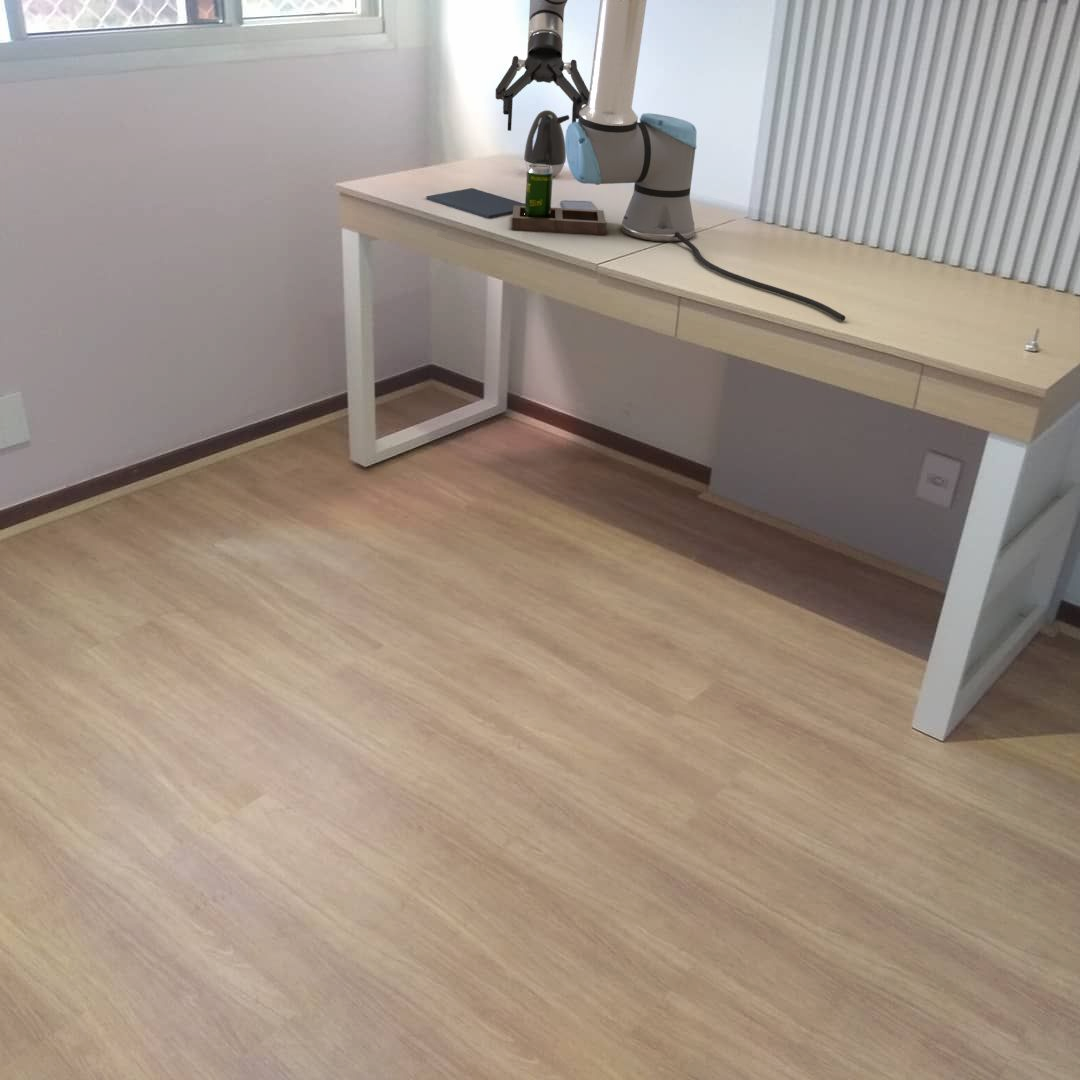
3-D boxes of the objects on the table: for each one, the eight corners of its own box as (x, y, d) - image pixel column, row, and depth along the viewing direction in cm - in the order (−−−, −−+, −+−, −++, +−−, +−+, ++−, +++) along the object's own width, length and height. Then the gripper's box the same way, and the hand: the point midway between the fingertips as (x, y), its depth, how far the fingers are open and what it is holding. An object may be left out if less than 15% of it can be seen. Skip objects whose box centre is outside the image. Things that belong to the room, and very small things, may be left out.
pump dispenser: (565, 181, 281) (569, 115, 273) (522, 178, 281) (525, 112, 273) (565, 171, 290) (569, 108, 282) (524, 169, 290) (527, 105, 282)
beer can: (548, 221, 247) (551, 164, 241) (551, 228, 243) (554, 169, 237) (523, 220, 247) (526, 163, 241) (525, 227, 242) (528, 168, 236)
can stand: (602, 222, 250) (603, 210, 248) (604, 235, 240) (605, 223, 239) (513, 217, 249) (513, 205, 248) (511, 229, 240) (512, 217, 239)
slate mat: (534, 209, 256) (534, 206, 256) (488, 218, 247) (488, 215, 247) (471, 190, 268) (471, 187, 267) (426, 198, 258) (426, 196, 258)
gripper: (601, 56, 254) (598, 142, 249) (487, 49, 253) (482, 135, 248) (604, 34, 247) (602, 121, 242) (487, 26, 246) (482, 114, 241)
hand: (541, 129), depth 245 cm, fingers open, 13 cm apart
